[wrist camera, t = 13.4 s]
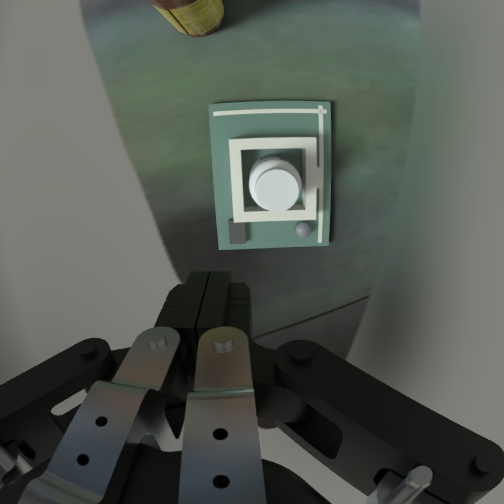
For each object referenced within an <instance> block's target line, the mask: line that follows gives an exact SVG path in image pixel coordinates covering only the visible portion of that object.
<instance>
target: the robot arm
mask: <svg viewBox="0 0 504 504" xmlns="http://www.w3.org/2000/svg"><path fill="white" fill-rule="evenodd" d="M83 389H85V391H86V393H87V395H86V397H85V399H84V400H83V402H82V404H80V405H78V406H77V407H75V408H73V409H71V410H70V411H68V412H66V413H65V414H63V415H59V416H57V415H54V414H52V413H51V409H52V408H53V407H54V406H55V405H57V404H59V403H60V402H62V401H64V400H65V399H67V398H69V397H71V396H72V395H74V394H76V393H77V392H79V391H81V390H83ZM257 416H258V417H262V418H267V419H271V420H275V423H276V425H277V426H278V427H279V428H280V429H281V430H282V431H283V432H284V433H285V434H287V435H288V436H289V437H290V438H291V439H292V440H294V441H295V442H296V443H297V444H299V445H300V446H301V447H302V448H303V449H305V450H306V451H307V452H308V453H310V454H311V455H312V456H313V457H315V458H316V459H317V460H318V461H320V462H321V463H322V464H324V465H325V466H326V467H328V468H329V469H330V470H331V471H333V472H334V473H336V474H337V475H338V476H340V477H341V478H342V479H344V480H345V481H346V482H348V483H349V484H351V485H352V486H353V487H355V488H356V489H358V490H359V491H361V492H362V493H364V494H365V495H367V496H368V498H367V500H366V503H365V504H474V503H475V502H477V501H478V500H479V499H481V498H482V497H483V496H485V495H486V494H487V493H488V492H490V491H491V490H492V489H493V488H495V487H496V486H497V485H498V484H499V483H500V482H501V481H502V479H503V478H504V452H503V450H502V449H501V448H500V446H498V445H497V444H496V443H494V442H492V441H490V440H488V439H486V438H484V437H482V436H480V435H478V434H476V433H474V432H473V431H471V430H469V429H467V428H465V427H463V426H461V425H459V424H457V423H455V422H453V421H451V420H449V419H448V418H446V417H444V416H442V415H440V414H438V413H436V412H435V411H433V410H431V409H429V408H427V407H425V406H423V405H421V404H420V403H418V402H416V401H415V400H413V399H411V398H409V397H407V396H406V395H404V394H402V393H400V392H399V391H397V390H395V389H393V388H391V387H390V386H388V385H386V384H385V383H383V382H381V381H379V380H378V379H376V378H374V377H372V376H371V375H369V374H367V373H366V372H364V371H362V370H361V369H359V368H357V367H355V366H354V365H352V364H350V363H349V362H347V361H345V360H344V359H342V358H340V357H339V356H337V355H335V354H334V353H332V352H330V351H329V350H327V349H326V348H324V347H322V346H321V345H319V344H317V343H315V342H312V341H308V340H293V341H289V342H286V343H284V344H283V345H281V346H280V347H279V348H278V349H277V350H272V349H268V348H264V347H261V346H260V345H258V344H256V343H255V342H254V341H253V340H252V312H251V295H250V289H249V287H248V286H247V285H246V284H245V282H241V283H232V275H231V270H218V271H211V272H210V271H191V272H190V275H189V277H188V280H187V282H186V284H178V285H177V286H175V287H174V288H173V289H172V290H171V291H170V292H169V294H168V296H167V298H166V301H165V303H164V305H163V308H162V309H161V312H160V314H159V316H158V319H157V321H156V323H155V326H154V328H150V329H148V330H145V331H144V332H142V333H141V334H140V335H139V336H138V337H137V338H136V339H135V341H134V343H133V345H132V347H129V348H124V349H118V350H113V351H111V349H110V347H109V344H108V343H107V342H106V341H105V340H103V339H100V338H90V339H86V340H83V341H81V342H79V343H77V344H75V345H73V346H72V347H70V348H68V349H66V350H64V351H62V352H60V353H59V354H57V355H55V356H53V357H51V358H49V359H48V360H46V361H44V362H42V363H40V364H39V365H37V366H35V367H33V368H31V369H29V370H28V371H26V372H24V373H22V374H20V375H18V376H16V377H15V378H13V379H11V380H9V381H7V382H6V383H4V384H2V385H0V504H331V503H330V502H329V501H328V500H327V499H325V498H324V497H323V496H322V495H320V494H319V493H318V492H317V491H316V490H314V489H313V488H312V487H311V486H310V485H309V484H308V483H307V482H306V481H305V480H303V479H302V478H301V477H300V476H298V475H297V474H295V473H294V472H292V471H291V470H289V469H287V468H285V467H283V466H282V465H279V464H277V463H274V462H271V461H268V460H265V459H261V451H260V443H259V433H258V424H257Z"/></svg>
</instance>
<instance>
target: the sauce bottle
mask: <svg viewBox="0 0 504 504" xmlns="http://www.w3.org/2000/svg"><path fill="white" fill-rule="evenodd" d="M149 1H150V3H151V4H152V5H153V6H154V7H155V8H156V9H157V10H158V11H159V12H160V13H161V14H162V15H163V16H164V17H165V18H166V19H167V20H168V21H169V22H170V23H171V24H172V25H173V26H174V27H175V28H176V29H177V30H179V31H180V32H182V33H184V34H186V35H189V36H192V37H200V36H204V35H207V34H210V33H212V32H214V31H215V30H216V29H217V28H218V27H219V26H220V24H221V23H222V21H223V19H224V6H223V3H222V0H149Z"/></svg>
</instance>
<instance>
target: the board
mask: <svg viewBox="0 0 504 504" xmlns="http://www.w3.org/2000/svg"><path fill="white" fill-rule="evenodd" d="M209 121H210V138H211V154H212V168H213V182H214V196H215V208H216V220H217V232H218V243H219V250H226V249H251V248H277V247H304V246H329V229H330V202H331V109H330V102H321V101H254V102H234V103H219V104H209ZM267 155H278V156H281V157H283V158H285V159H286V160H287V161H288V162H290V163H291V164H292V165H293V166H294V167H295V168H296V170H297V171H298V173H299V175H300V178H301V183H302V188H301V193H300V196H299V198H298V199H297V201H296V202H295V204H294V205H293V206H292V207H290V208H289V209H287V210H285V211H282V212H273V211H269V210H266V209H264V208H262V207H260V206H259V205H258V204H257V203H256V202H255V201H254V199H253V198H252V196H251V193H250V190H249V176H250V170H251V168H252V166H253V164H254V163H255V162H256V161H257V160H258V159H260V158H261V157H263V156H267Z"/></svg>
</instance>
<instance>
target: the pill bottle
mask: <svg viewBox="0 0 504 504" xmlns="http://www.w3.org/2000/svg"><path fill="white" fill-rule="evenodd" d="M301 188H302V183H301V178H300V175H299V173H298V171H297V170H296V168H295V167H294V166H293V165H292V164H291V163H290V162H288V161H287V160H286V159H285V158H283V157H281V156H278V155H267V156H263V157H261V158H260V159H258V160H257V161H256V162H255V163H254V164H253V166H252V168H251V170H250V176H249V190H250V193H251V196H252V198H253V199H254V201H255V202H256V203H257V204H258V205H259V206H260V207H262V208H264V209H266V210H269V211H273V212H282V211H285V210H287V209H289V208H290V207H292V206H293V205H294V204H295V202H296V201H297V199H298V198H299V196H300V193H301Z"/></svg>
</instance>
